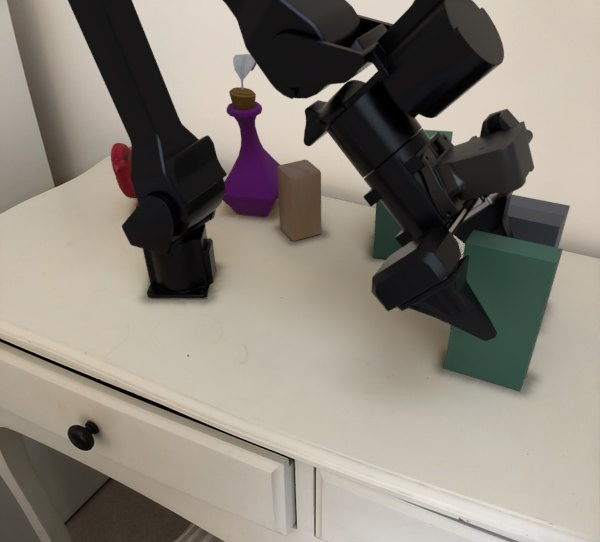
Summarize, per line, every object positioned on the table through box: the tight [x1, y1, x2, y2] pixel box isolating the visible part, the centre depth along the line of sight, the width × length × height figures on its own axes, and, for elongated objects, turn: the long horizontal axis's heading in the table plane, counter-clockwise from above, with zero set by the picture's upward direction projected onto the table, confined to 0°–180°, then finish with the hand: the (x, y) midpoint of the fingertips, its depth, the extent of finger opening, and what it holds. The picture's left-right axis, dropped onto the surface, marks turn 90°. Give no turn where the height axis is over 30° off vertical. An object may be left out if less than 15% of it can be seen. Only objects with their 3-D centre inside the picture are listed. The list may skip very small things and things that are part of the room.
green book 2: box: [443, 230, 564, 392], centre depth 54 cm, size 7×2×13 cm, turn 62°
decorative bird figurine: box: [110, 142, 139, 209], centre depth 82 cm, size 3×18×10 cm, turn 0°
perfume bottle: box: [222, 53, 281, 218], centre depth 77 cm, size 8×8×18 cm
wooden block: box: [277, 159, 322, 242], centre depth 75 cm, size 4×4×8 cm
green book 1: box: [372, 140, 452, 260], centre depth 69 cm, size 7×2×13 cm, turn 77°
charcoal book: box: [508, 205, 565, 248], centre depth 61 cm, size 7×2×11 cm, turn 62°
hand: (507, 307), depth 53 cm, fingers open, 9 cm apart
